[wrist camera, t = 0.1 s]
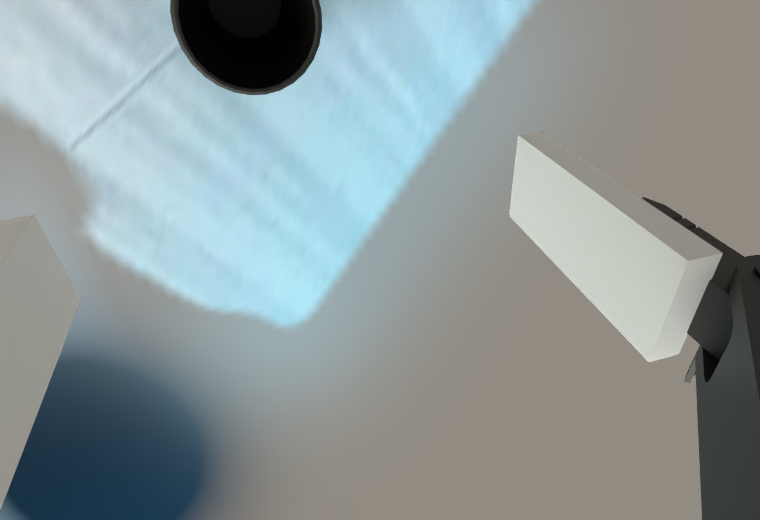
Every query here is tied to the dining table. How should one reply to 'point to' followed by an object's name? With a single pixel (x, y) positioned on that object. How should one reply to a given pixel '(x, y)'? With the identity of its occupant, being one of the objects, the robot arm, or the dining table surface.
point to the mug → (249, 40)
